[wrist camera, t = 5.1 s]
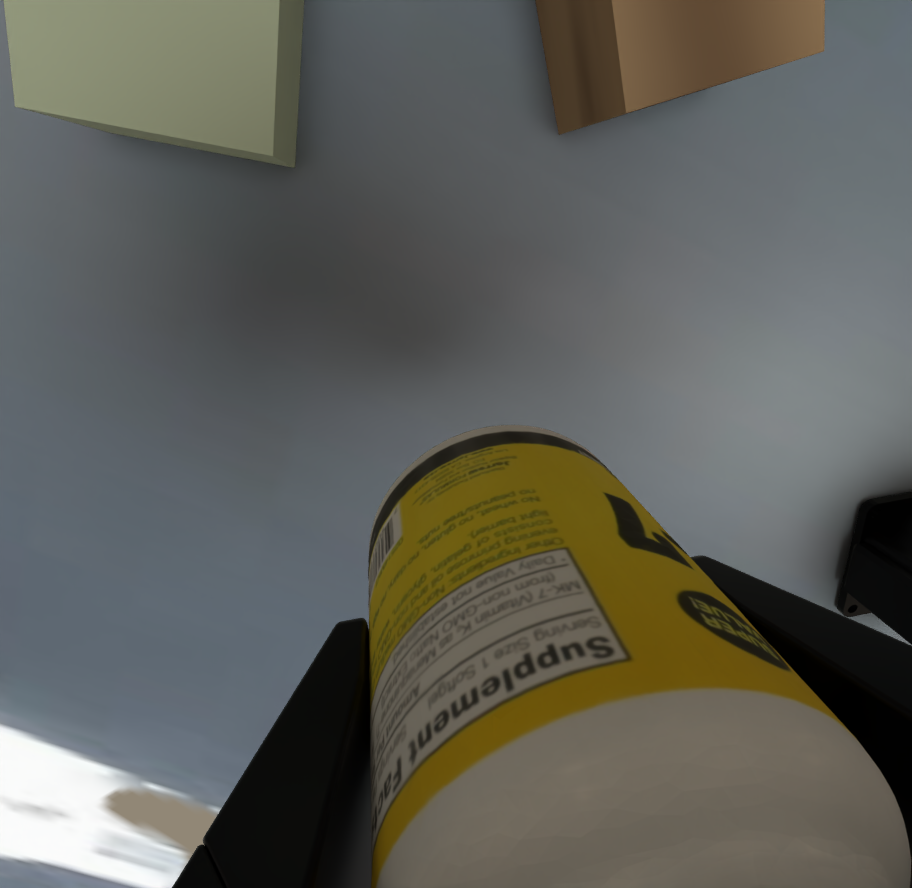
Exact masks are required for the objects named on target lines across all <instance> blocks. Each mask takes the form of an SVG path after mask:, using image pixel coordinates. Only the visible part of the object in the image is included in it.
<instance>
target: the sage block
mask: <svg viewBox="0 0 912 888" xmlns="http://www.w3.org/2000/svg"><path fill="white" fill-rule="evenodd" d="M4 8H5V18H6V27H7V36H8V45H9V55H10V64H11V73H12V82H13V92H14V101H15V107H18V108H22V109H26V110H29V111H33V112H37V113H40V114H44V115H48V116H51V117H55V118H58V119H62V120H66V121H69V122H73V123H77V124H80V125H84V126H88V127H91V128H95V129H98V130H102V131H106V132H109V133H114V134H119V135H124V136H129V137H135V138H140V139H145V140H150V141H156V142H161V143H166V144H172V145H177V146H182V147H187V148H193V149H198V150H203V151H208V152H214V153H219V154H224V155H230V156H235V157H240V158H245V159H251V160H256V161H261V162H266V163H272V164H277V165H282V166H287V167H293V168H295V159H296V141H297V123H298V105H299V86H300V68H301V50H302V32H303V14H304V0H4Z"/></svg>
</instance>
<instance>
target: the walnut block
mask: <svg viewBox="0 0 912 888" xmlns="http://www.w3.org/2000/svg"><path fill="white" fill-rule="evenodd" d="M535 2H536V7H537V13H538V19H539V25H540V30H541V36H542V42H543V47H544V53H545V59H546V65H547V70H548V76H549V82H550V87H551V93H552V99H553V104H554V110H555V116H556V122H557V127H558V133H559V135H560V134H563V133H566V132H570V131H573V130H576V129H579V128H582V127H585V126H589V125H592V124H595V123H598V122H601V121H605V120H608V119H611V118H614V117H617V116H621V115H624V114H627V113H630V112H633V111H637V110H640V109H643V108H646V107H649V106H653V105H656V104H659V103H662V102H665V101H669V100H672V99H675V98H678V97H681V96H685V95H688V94H691V93H694V92H697V91H701V90H704V89H707V88H710V87H713V86H716V85H720V84H723V83H726V82H729V81H732V80H735V79H738V78H741V77H745V76H748V75H751V74H754V73H757V72H760V71H763V70H767V69H770V68H773V67H776V66H779V65H782V64H785V63H789V62H792V61H795V60H798V59H801V58H804V57H807V56H810V55H814V54H817V53H820V52H823V51H824V15H825V0H535Z"/></svg>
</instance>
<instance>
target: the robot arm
mask: <svg viewBox="0 0 912 888" xmlns="http://www.w3.org/2000/svg"><path fill="white" fill-rule="evenodd" d="M690 558H691V559H692V560H693V561H694V562H695V563H696V564H697V565H698V566H699V567H700V569H701V570H702V571H703V572H704V573H705V574H706V575H707V576H708V577H709V578H710V579H711V580H712V581H713V583H714V584H715V585H716V586H717V587H718V588H719V589H720V590H721V592H722V593H723V594H724V595H725V596H726V597H727V598H728V599H729V600H730V601H731V602H732V603H733V604H734V605H735V606H736V607H737V609H738V610H739V611H740V612H741V613H742V614H743V615H744V617H745V618H746V619H747V620H748V621H749V622H750V623H751V624H752V626H753V627H754V628H755V629H756V630H757V631H758V632H759V633H760V634H761V636H762V637H763V638H764V639H765V640H766V641H767V642H768V643H769V644H770V645H771V646H772V647H773V648H774V649H775V650H776V651H777V652H778V653H779V654H780V656H781V657H782V658H783V659H784V660H785V661H786V662H787V663H788V665H789V666H790V667H791V668H792V669H793V670H794V671H795V672H796V673H797V674H798V676H799V677H800V678H801V679H802V680H803V681H804V682H805V683H806V684H807V685H808V686H809V687H810V689H811V690H812V691H813V692H814V693H815V694H816V695H817V696H818V697H819V698H820V699H821V701H822V702H823V703H824V704H825V705H826V706H827V707H828V708H829V709H830V710H831V711H832V712H833V714H834V715H835V716H836V717H837V718H838V719H839V720H840V721H841V722H842V723H843V724H844V725H845V727H846V728H847V729H848V730H849V731H850V732H851V733H852V734H853V735H854V736H855V738H856V739H857V740H858V741H859V743H860V744H861V745H862V747H863V748H864V749H865V751H866V752H867V753H868V755H869V756H870V757H871V759H872V760H873V761H874V763H875V764H876V765H877V767H878V768H879V769H880V771H881V773H882V774H883V776H884V778H885V779H886V781H887V783H888V784H889V786H890V788H891V790H892V792H893V794H894V796H895V798H896V801H897V803H898V806H899V808H900V811H901V814H902V817H903V820H904V823H905V828H906V832H907V837H908V842H909V848H910V855H911V878H910V888H912V646H911V645H912V492H910V493H904V494H899V495H893V496H888V497H882V498H877V499H871V500H868V501H866V502H865V503H864V504H863V505H862V506H861V508H860V510H859V514H858V518H857V522H856V526H855V531H854V535H853V539H852V544H851V548H850V552H849V557H848V561H847V565H846V570H845V574H844V578H843V582H842V587H841V591H840V595H839V600H838V604H837V609H838V610H839V611H840V612H841V613H842V614H843V615H844V616H846V617H844V616H842V615H840V614H837V613H835V612H833V611H831V610H828V609H826V608H824V607H821V606H819V605H817V604H815V603H812V602H810V601H808V600H805V599H803V598H801V597H798V596H796V595H794V594H792V593H789V592H787V591H785V590H782V589H780V588H778V587H776V586H773V585H771V584H769V583H766V582H764V581H762V580H759V579H757V578H755V577H753V576H750V575H748V574H746V573H743V572H741V571H739V570H736V569H734V568H732V567H730V566H727V565H725V564H723V563H720V562H718V561H716V560H714V559H711V558H709V557H706V556H694V557H690ZM867 613H873V614H874V615H875V616H877V617H878V618H879V619H880V620H882V621H883V622H884V623H885V624H887V625H888V626H889V627H890V628H892V629H893V630H894V631H895V632H897V633H898V634H899V635H900V636H902V637H903V638H904V639H905V640H907V641H908V642H909V643H910V644H911V645H909V644H906V643H904V642H902V641H899V640H897V639H895V638H893V637H890V636H888V635H886V634H883V633H881V632H879V631H876V630H874V629H872V628H870V627H867V626H865V625H863V624H860V623H858V622H856V621H854V620H851V619H849V618H847V617H852V616H857V615H862V614H867ZM203 843H204V845H205V846H204V845H199V846H198V847H197V848H196V850H195V852H194V853H193V855H192V857H191V858H190V860H189V861H188V863H187V865H186V866H185V868H184V869H183V871H182V873H181V874H180V876H179V878H178V879H177V881H176V882H175V884H174V885H173V887H172V888H371V876H372V866H371V776H370V689H369V629H368V625H367V622H366V620H365V619H364V618H357V619H352V620H346V621H341V622H339V623H337V624H336V625H335V627H334V628H333V630H332V632H331V633H330V635H329V637H328V638H327V640H326V641H325V643H324V645H323V646H322V648H321V649H320V651H319V653H318V654H317V656H316V657H315V659H314V661H313V662H312V664H311V666H310V667H309V669H308V670H307V672H306V674H305V675H304V677H303V678H302V680H301V682H300V683H299V685H298V686H297V688H296V690H295V691H294V693H293V694H292V696H291V698H290V699H289V701H288V703H287V704H286V706H285V707H284V709H283V711H282V712H281V714H280V715H279V717H278V719H277V720H276V722H275V723H274V725H273V727H272V728H271V730H270V732H269V733H268V735H267V736H266V738H265V740H264V741H263V743H262V744H261V746H260V748H259V749H258V751H257V752H256V754H255V756H254V757H253V759H252V761H251V762H250V764H249V765H248V767H247V769H246V770H245V772H244V773H243V775H242V777H241V778H240V780H239V781H238V783H237V785H236V786H235V788H234V790H233V791H232V793H231V794H230V796H229V798H228V799H227V801H226V802H225V804H224V806H223V807H222V809H221V810H220V812H219V814H218V815H217V817H216V818H215V820H214V822H213V823H212V825H211V827H210V828H209V830H208V831H207V833H206V835H205V836H204V838H203Z"/></svg>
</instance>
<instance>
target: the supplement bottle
mask: <svg viewBox="0 0 912 888" xmlns="http://www.w3.org/2000/svg"><path fill="white" fill-rule="evenodd" d="M368 578H369V604H368V605H369V689H370V776H371V866H372V876H371V888H910V878H911V855H910V848H909V842H908V837H907V832H906V828H905V823H904V820H903V817H902V814H901V811H900V808H899V806H898V803H897V801H896V798H895V796H894V794H893V792H892V790H891V788H890V786H889V784H888V783H887V781H886V779H885V778H884V776H883V774H882V773H881V771H880V769H879V768H878V767H877V765H876V764H875V763H874V761H873V760H872V759H871V757H870V756H869V755H868V753H867V752H866V751H865V749H864V748H863V747H862V745H861V744H860V743H859V741H858V740H857V739H856V738H855V736H854V735H853V734H852V733H851V732H850V731H849V730H848V729H847V728H846V727H845V725H844V724H843V723H842V722H841V721H840V720H839V719H838V718H837V717H836V716H835V715H834V714H833V712H832V711H831V710H830V709H829V708H828V707H827V706H826V705H825V704H824V703H823V702H822V701H821V699H820V698H819V697H818V696H817V695H816V694H815V693H814V692H813V691H812V690H811V689H810V687H809V686H808V685H807V684H806V683H805V682H804V681H803V680H802V679H801V678H800V677H799V676H798V674H797V673H796V672H795V671H794V670H793V669H792V668H791V667H790V666H789V665H788V663H787V662H786V661H785V660H784V659H783V658H782V657H781V656H780V654H779V653H778V652H777V651H776V650H775V649H774V648H773V647H772V646H771V645H770V644H769V643H768V642H767V641H766V640H765V639H764V638H763V637H762V636H761V634H760V633H759V632H758V631H757V630H756V629H755V628H754V627H753V626H752V624H751V623H750V622H749V621H748V620H747V619H746V618H745V617H744V615H743V614H742V613H741V612H740V611H739V610H738V609H737V607H736V606H735V605H734V604H733V603H732V602H731V601H730V600H729V599H728V598H727V597H726V596H725V595H724V594H723V593H722V592H721V590H720V589H719V588H718V587H717V586H716V585H715V584H714V583H713V581H712V580H711V579H710V578H709V577H708V576H707V575H706V574H705V573H704V572H703V571H702V570H701V569H700V567H699V566H698V565H697V564H696V563H695V562H694V561H693V560H692V559H691V558H690V557H689V556H688V555H687V553H686V552H685V551H684V550H683V549H682V548H681V547H680V546H679V545H678V544H677V543H676V542H675V541H674V540H673V539H672V538H671V537H670V536H669V534H668V533H667V532H666V531H665V530H664V529H663V528H662V527H661V526H660V524H659V523H658V522H657V521H656V520H655V519H654V518H653V517H652V516H651V515H650V514H649V512H648V511H647V510H646V509H645V508H644V507H643V506H642V505H641V504H640V503H639V502H638V501H637V499H636V498H635V497H634V496H633V495H632V494H631V493H630V492H629V491H628V490H627V488H626V487H625V486H624V485H623V484H622V483H621V482H620V481H619V480H618V479H617V478H616V477H615V476H614V475H613V474H612V473H611V472H610V471H609V470H608V468H607V467H606V466H605V465H604V464H603V463H602V462H601V461H600V460H598V459H597V458H596V457H595V456H594V455H593V454H592V453H591V452H590V451H588V450H587V449H586V448H584V447H583V446H581V445H579V444H578V443H576V442H574V441H573V440H571V439H569V438H567V437H565V436H562V435H560V434H558V433H555V432H553V431H550V430H546V429H542V428H538V427H531V426H522V425H501V426H492V427H485V428H480V429H476V430H472V431H468V432H465V433H462V434H460V435H457V436H455V437H452V438H450V439H448V440H446V441H444V442H442V443H440V444H439V445H437V446H435V447H433V448H432V449H430V450H429V451H427V452H426V453H425V454H423V455H422V456H421V457H419V458H418V459H417V460H416V461H415V462H413V463H412V464H411V465H410V466H409V467H408V468H407V469H406V470H405V471H404V472H403V473H402V474H401V475H400V476H399V477H398V479H397V480H396V481H395V482H394V484H393V485H392V486H391V488H390V489H389V491H388V492H387V494H386V496H385V497H384V499H383V501H382V503H381V505H380V507H379V509H378V511H377V514H376V516H375V520H374V523H373V527H372V531H371V536H370V543H369V569H368Z"/></svg>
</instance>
